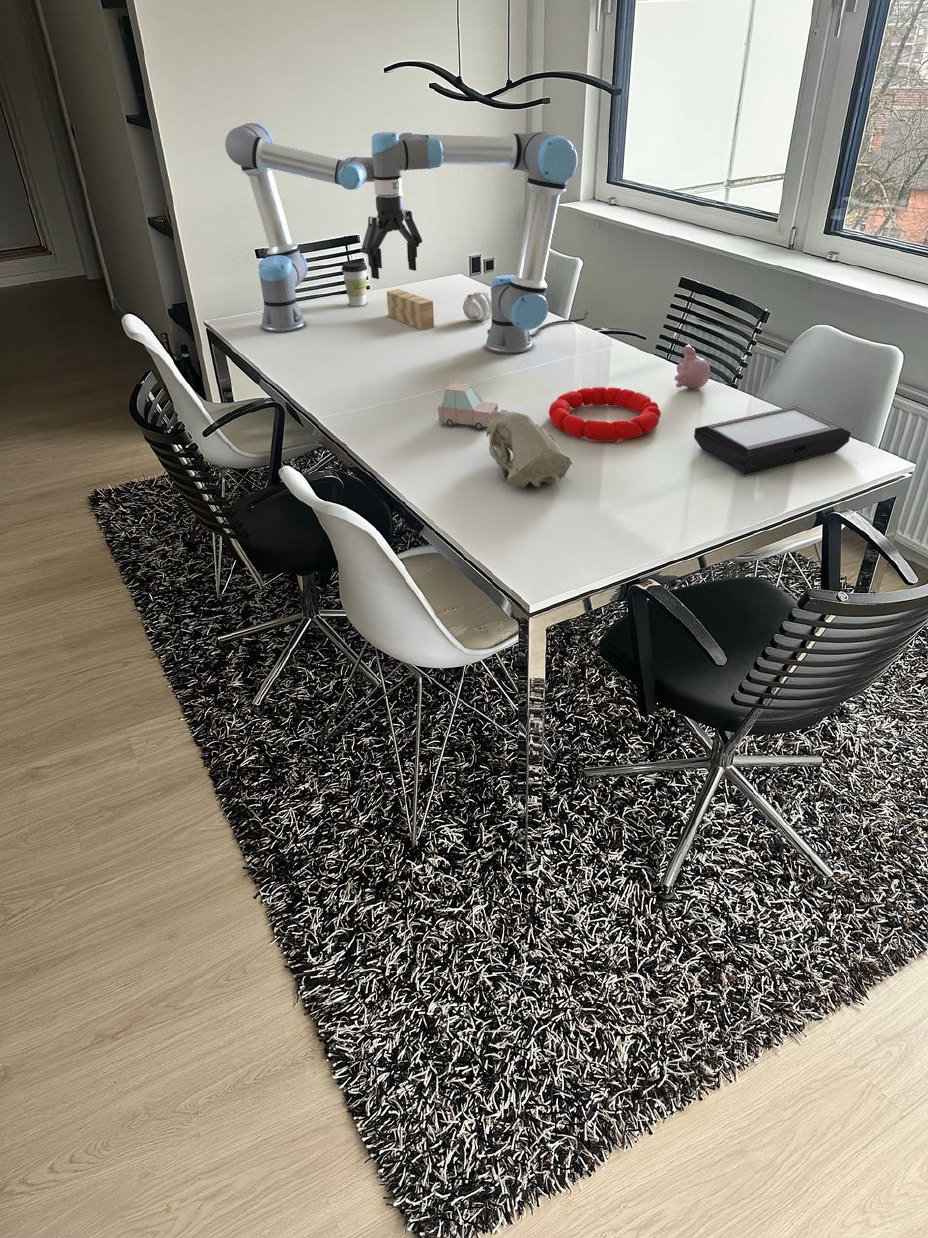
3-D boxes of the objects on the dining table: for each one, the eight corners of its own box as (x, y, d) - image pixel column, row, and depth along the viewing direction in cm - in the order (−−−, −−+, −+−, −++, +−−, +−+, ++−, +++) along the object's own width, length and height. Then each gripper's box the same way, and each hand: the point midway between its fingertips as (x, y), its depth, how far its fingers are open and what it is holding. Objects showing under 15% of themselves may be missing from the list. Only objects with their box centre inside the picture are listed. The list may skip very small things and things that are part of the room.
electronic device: (746, 454, 209) (695, 425, 224) (742, 478, 212) (692, 448, 228) (851, 429, 219) (795, 402, 234) (846, 452, 223) (791, 425, 238)
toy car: (488, 432, 240) (488, 396, 234) (436, 426, 244) (434, 390, 239) (499, 419, 247) (499, 384, 241) (448, 413, 252) (447, 379, 246)
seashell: (455, 320, 326) (454, 292, 321) (490, 313, 332) (490, 286, 326) (468, 327, 319) (468, 298, 313) (504, 320, 325) (504, 292, 319)
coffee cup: (368, 306, 344) (365, 266, 336) (343, 307, 345) (339, 267, 336) (371, 300, 352) (368, 260, 344) (346, 300, 353) (342, 260, 344)
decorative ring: (589, 435, 224) (684, 402, 234) (527, 398, 247) (617, 369, 256) (589, 461, 229) (683, 427, 238) (529, 422, 251) (617, 393, 260)
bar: (388, 316, 334) (386, 291, 329) (400, 313, 336) (398, 288, 331) (422, 329, 319) (420, 303, 313) (434, 326, 321) (432, 301, 316)
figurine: (665, 387, 264) (669, 347, 257) (693, 380, 268) (698, 340, 261) (686, 396, 257) (690, 355, 250) (714, 388, 262) (720, 348, 255)
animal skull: (496, 517, 219) (521, 479, 201) (463, 429, 225) (484, 384, 207) (557, 503, 225) (586, 465, 206) (523, 417, 231) (549, 373, 212)
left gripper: (367, 206, 301) (371, 271, 313) (427, 198, 313) (429, 261, 326) (355, 203, 306) (360, 267, 318) (415, 195, 318) (417, 257, 330)
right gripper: (359, 202, 241) (366, 283, 253) (431, 190, 254) (435, 268, 266) (344, 199, 246) (351, 279, 258) (415, 187, 259) (419, 264, 271)
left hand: (395, 264), depth 322 cm, fingers open, 13 cm apart
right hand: (394, 273), depth 262 cm, fingers open, 13 cm apart
